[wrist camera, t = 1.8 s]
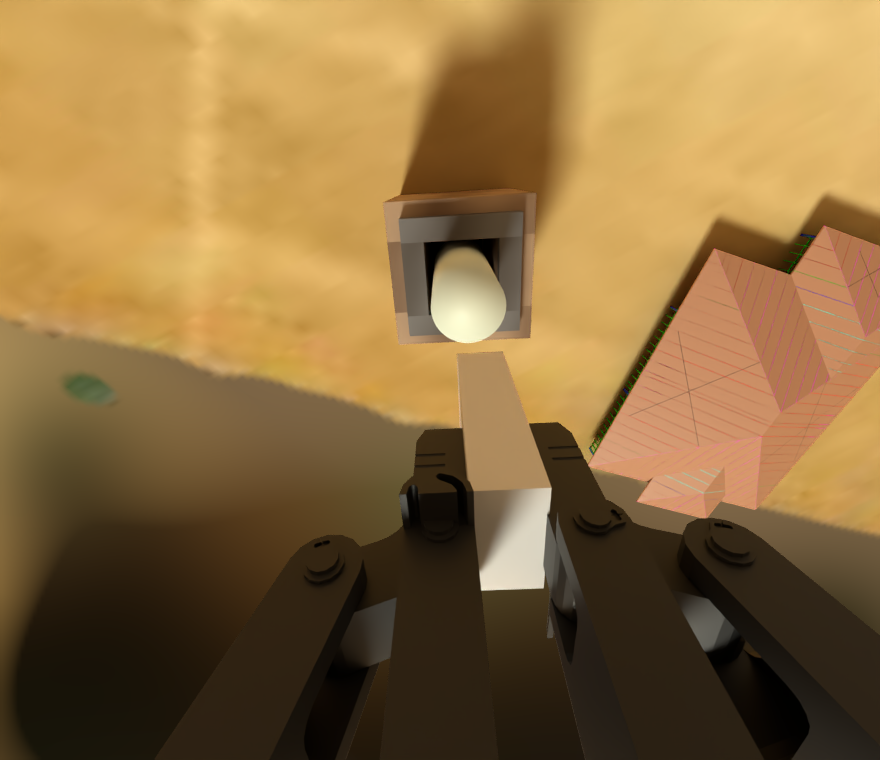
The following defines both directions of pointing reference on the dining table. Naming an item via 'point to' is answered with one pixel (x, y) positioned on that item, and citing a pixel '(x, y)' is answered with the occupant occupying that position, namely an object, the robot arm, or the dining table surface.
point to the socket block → (460, 218)
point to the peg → (465, 293)
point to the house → (748, 376)
